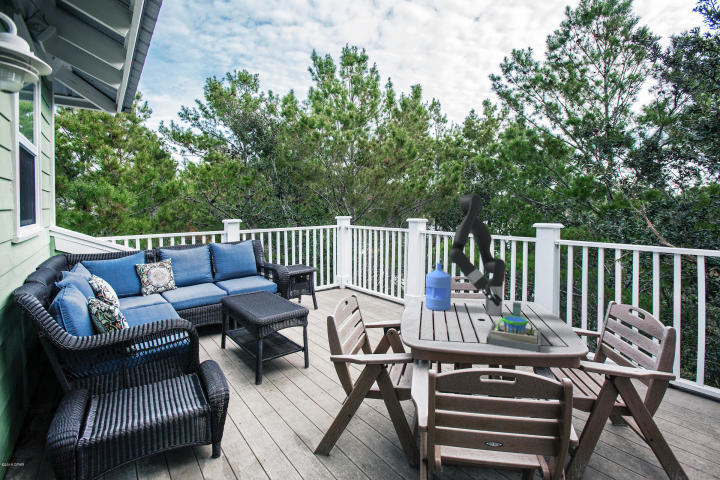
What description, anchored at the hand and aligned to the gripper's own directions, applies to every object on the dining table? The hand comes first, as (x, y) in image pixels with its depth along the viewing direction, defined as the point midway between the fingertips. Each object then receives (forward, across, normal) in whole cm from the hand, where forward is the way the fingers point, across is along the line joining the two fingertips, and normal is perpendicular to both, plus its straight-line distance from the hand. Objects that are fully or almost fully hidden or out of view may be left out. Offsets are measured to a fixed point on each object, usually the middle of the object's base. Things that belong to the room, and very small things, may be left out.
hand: (500, 303), depth 186 cm
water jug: (-18, +28, +38) cm, 50 cm away
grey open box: (+15, -10, +4) cm, 19 cm away
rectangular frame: (+15, -10, +4) cm, 19 cm away
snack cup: (+16, -12, +4) cm, 20 cm away
